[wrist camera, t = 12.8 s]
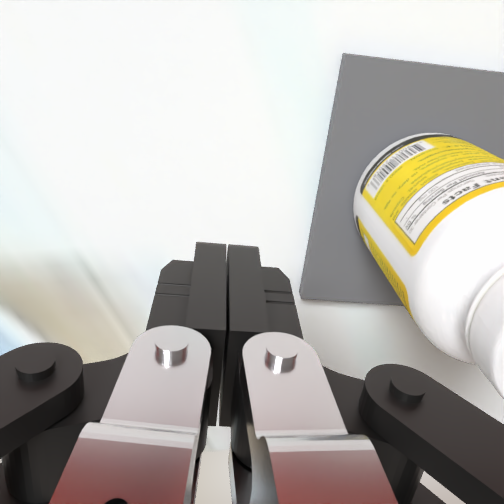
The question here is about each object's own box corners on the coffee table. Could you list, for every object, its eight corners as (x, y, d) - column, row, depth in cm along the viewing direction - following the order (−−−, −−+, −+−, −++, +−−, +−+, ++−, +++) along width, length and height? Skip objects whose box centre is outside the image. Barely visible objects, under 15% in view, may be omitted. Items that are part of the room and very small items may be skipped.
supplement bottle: (462, 260, 21) (638, 445, 12) (339, 252, 20) (428, 438, 11) (504, 134, 18) (764, 249, 9) (365, 121, 18) (504, 230, 9)
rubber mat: (299, 291, 22) (300, 298, 21) (342, 52, 17) (346, 54, 17) (606, 313, 23) (614, 320, 22) (719, 98, 19) (734, 101, 18)
